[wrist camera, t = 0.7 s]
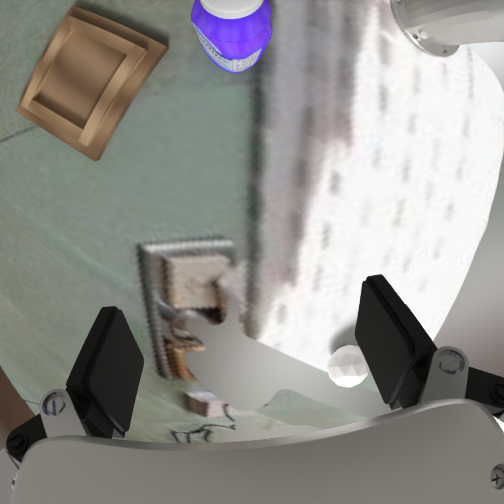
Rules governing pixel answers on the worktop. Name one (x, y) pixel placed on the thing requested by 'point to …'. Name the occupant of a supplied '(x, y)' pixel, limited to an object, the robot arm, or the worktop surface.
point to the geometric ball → (347, 366)
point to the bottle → (233, 31)
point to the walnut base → (88, 80)
